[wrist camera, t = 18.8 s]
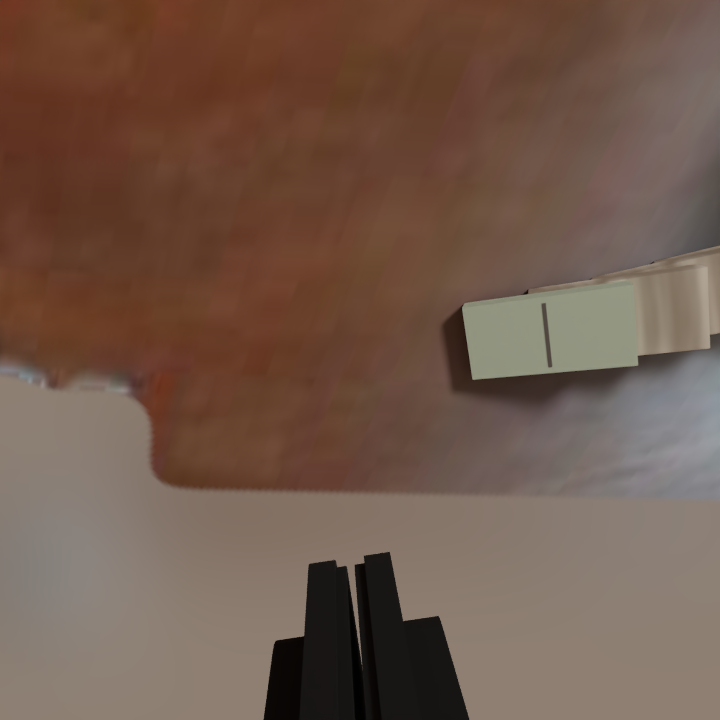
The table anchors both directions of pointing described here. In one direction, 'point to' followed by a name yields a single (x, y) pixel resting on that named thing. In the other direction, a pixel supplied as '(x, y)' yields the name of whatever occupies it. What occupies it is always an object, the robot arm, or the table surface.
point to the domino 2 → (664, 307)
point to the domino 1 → (552, 331)
